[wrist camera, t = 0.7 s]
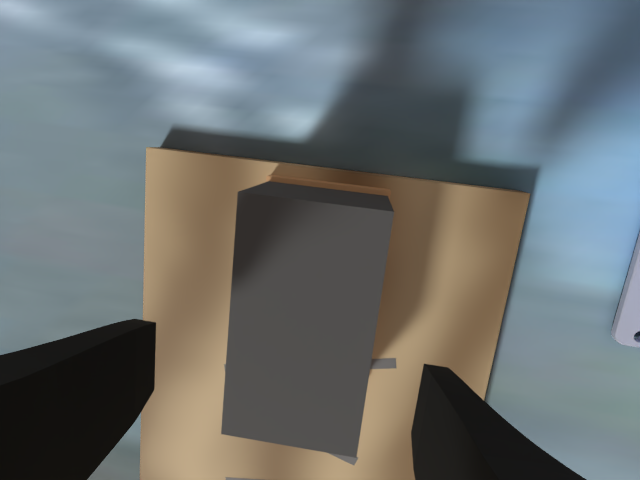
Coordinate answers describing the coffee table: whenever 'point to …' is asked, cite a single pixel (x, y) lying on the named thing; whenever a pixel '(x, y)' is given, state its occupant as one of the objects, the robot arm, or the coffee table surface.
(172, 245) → the oak board
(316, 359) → the block
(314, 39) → the coffee table surface
